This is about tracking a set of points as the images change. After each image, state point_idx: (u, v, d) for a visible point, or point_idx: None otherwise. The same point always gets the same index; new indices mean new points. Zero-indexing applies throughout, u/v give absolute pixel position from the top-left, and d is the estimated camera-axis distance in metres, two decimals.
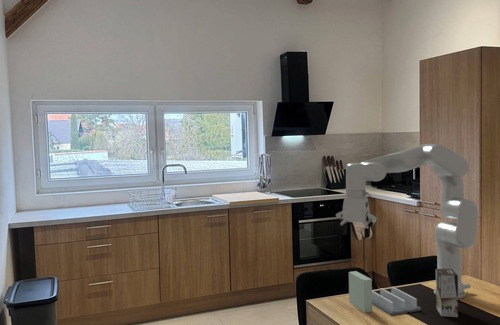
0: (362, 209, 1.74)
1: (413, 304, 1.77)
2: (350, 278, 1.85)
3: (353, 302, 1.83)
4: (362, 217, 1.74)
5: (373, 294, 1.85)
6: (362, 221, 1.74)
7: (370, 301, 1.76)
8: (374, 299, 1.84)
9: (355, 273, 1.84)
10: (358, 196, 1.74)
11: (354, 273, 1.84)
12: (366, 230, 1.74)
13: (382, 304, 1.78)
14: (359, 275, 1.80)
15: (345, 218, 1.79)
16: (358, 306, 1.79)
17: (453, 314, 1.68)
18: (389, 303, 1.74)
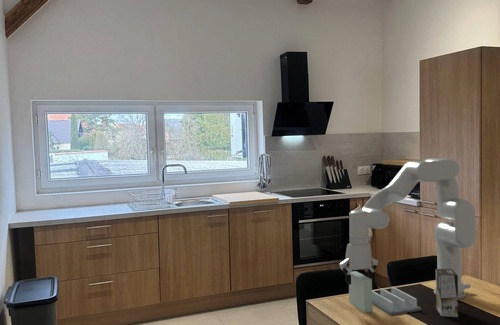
0: (370, 255, 1.79)
1: (413, 304, 1.77)
2: None
3: (353, 302, 1.83)
4: (370, 262, 1.79)
5: (373, 294, 1.85)
6: (370, 266, 1.80)
7: (370, 301, 1.76)
8: (374, 299, 1.84)
9: (355, 273, 1.84)
10: (368, 243, 1.78)
11: (354, 273, 1.84)
12: (371, 274, 1.81)
13: (382, 304, 1.78)
14: (359, 275, 1.80)
15: (354, 267, 1.77)
16: (358, 306, 1.79)
17: (453, 314, 1.68)
18: (389, 303, 1.74)
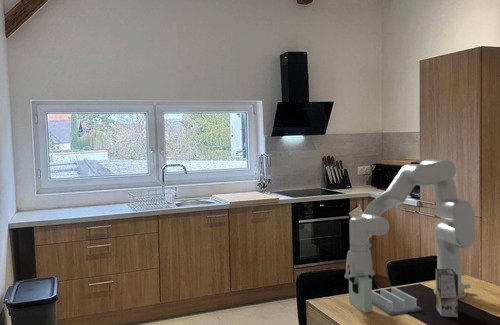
0: (371, 261, 1.79)
1: (413, 304, 1.77)
2: None
3: (353, 302, 1.83)
4: (371, 269, 1.80)
5: (373, 294, 1.85)
6: (370, 273, 1.80)
7: (370, 301, 1.75)
8: (374, 299, 1.84)
9: None
10: (368, 249, 1.78)
11: None
12: None
13: (382, 304, 1.78)
14: None
15: (354, 274, 1.78)
16: (358, 306, 1.79)
17: (453, 314, 1.68)
18: (389, 303, 1.74)
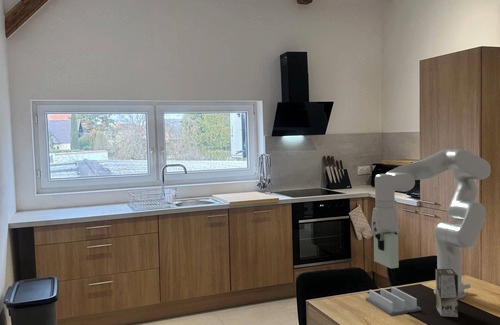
0: (396, 218, 1.79)
1: (413, 304, 1.77)
2: None
3: (378, 260, 1.82)
4: (396, 226, 1.79)
5: (373, 294, 1.85)
6: (396, 230, 1.79)
7: (396, 257, 1.75)
8: (374, 299, 1.84)
9: None
10: (394, 206, 1.77)
11: None
12: None
13: (382, 304, 1.78)
14: None
15: (380, 230, 1.77)
16: (384, 263, 1.78)
17: (453, 314, 1.68)
18: (389, 303, 1.74)
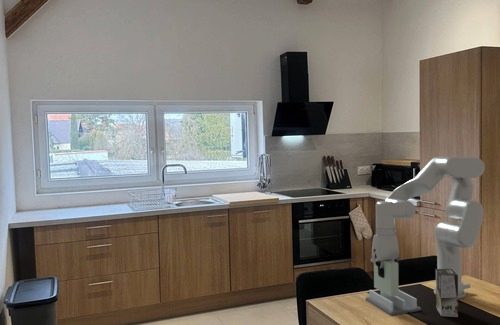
0: (397, 245, 1.79)
1: (413, 304, 1.77)
2: None
3: (378, 286, 1.83)
4: (397, 253, 1.79)
5: (373, 294, 1.85)
6: (396, 257, 1.79)
7: (396, 284, 1.75)
8: (374, 299, 1.84)
9: None
10: (394, 233, 1.78)
11: None
12: None
13: (382, 304, 1.78)
14: None
15: (381, 258, 1.77)
16: (384, 290, 1.79)
17: (453, 314, 1.68)
18: (389, 303, 1.74)
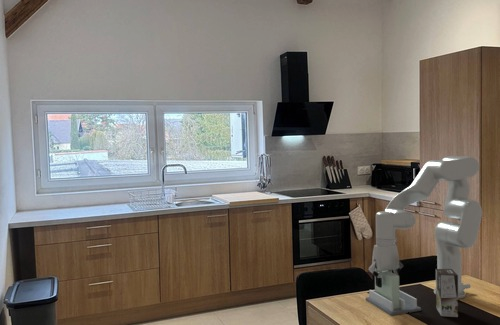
0: (397, 256, 1.79)
1: (413, 304, 1.77)
2: None
3: None
4: (397, 263, 1.80)
5: (373, 294, 1.85)
6: (397, 267, 1.80)
7: (397, 297, 1.76)
8: (374, 299, 1.84)
9: None
10: None
11: None
12: None
13: (382, 304, 1.78)
14: (386, 272, 1.80)
15: (381, 268, 1.78)
16: None
17: (453, 314, 1.68)
18: (389, 303, 1.74)
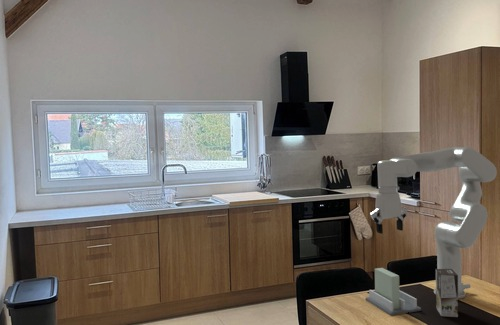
0: (400, 203, 1.81)
1: (413, 304, 1.77)
2: (376, 275, 1.85)
3: None
4: (400, 211, 1.82)
5: (373, 294, 1.85)
6: (400, 215, 1.82)
7: (397, 297, 1.76)
8: (374, 299, 1.84)
9: (381, 269, 1.84)
10: (397, 191, 1.80)
11: (380, 270, 1.84)
12: None
13: (382, 304, 1.78)
14: (386, 272, 1.80)
15: (385, 216, 1.80)
16: None
17: (453, 314, 1.68)
18: (389, 303, 1.74)
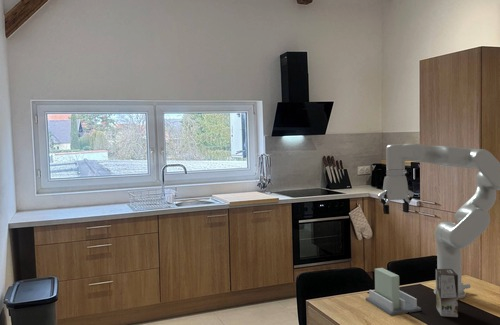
0: (406, 186, 1.89)
1: (413, 304, 1.77)
2: (376, 275, 1.85)
3: None
4: (406, 193, 1.89)
5: (373, 294, 1.85)
6: (406, 197, 1.89)
7: (397, 297, 1.76)
8: (374, 299, 1.84)
9: (381, 269, 1.84)
10: (404, 174, 1.88)
11: (380, 270, 1.84)
12: None
13: (382, 304, 1.78)
14: (386, 272, 1.80)
15: (391, 197, 1.87)
16: None
17: (453, 314, 1.68)
18: (389, 303, 1.74)
